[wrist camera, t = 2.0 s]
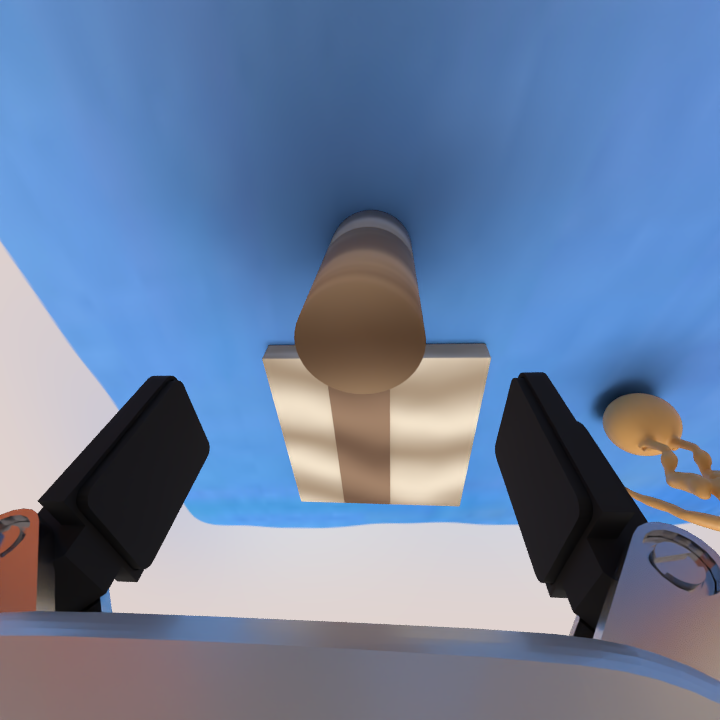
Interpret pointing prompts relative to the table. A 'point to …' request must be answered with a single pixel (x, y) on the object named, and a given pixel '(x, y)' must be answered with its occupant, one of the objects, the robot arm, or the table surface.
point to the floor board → (382, 429)
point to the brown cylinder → (363, 308)
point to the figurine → (661, 450)
